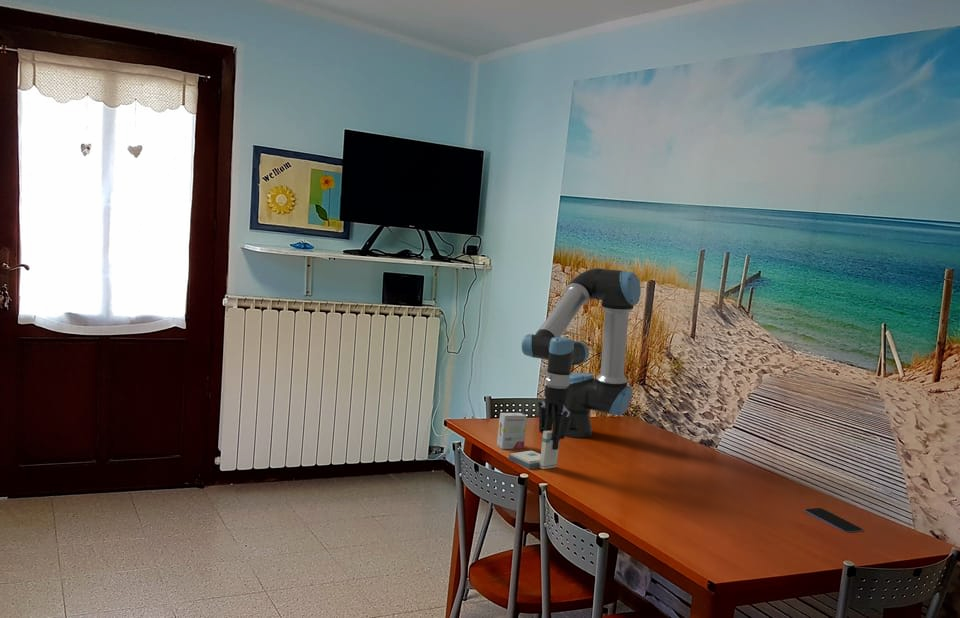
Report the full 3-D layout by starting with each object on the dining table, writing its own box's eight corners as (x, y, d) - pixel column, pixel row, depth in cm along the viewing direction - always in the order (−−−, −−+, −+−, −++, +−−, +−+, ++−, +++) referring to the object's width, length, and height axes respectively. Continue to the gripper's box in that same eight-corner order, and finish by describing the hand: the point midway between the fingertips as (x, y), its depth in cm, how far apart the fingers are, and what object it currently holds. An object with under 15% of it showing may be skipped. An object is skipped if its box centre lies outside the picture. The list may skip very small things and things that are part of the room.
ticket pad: (531, 456, 238) (531, 449, 237) (551, 465, 230) (552, 458, 230) (508, 459, 231) (509, 453, 231) (529, 469, 224) (529, 462, 223)
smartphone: (846, 531, 196) (803, 509, 209) (845, 535, 196) (802, 512, 209) (864, 529, 199) (820, 507, 212) (864, 533, 199) (820, 511, 212)
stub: (552, 465, 229) (556, 429, 228) (556, 467, 228) (560, 431, 227) (539, 467, 226) (543, 431, 225) (543, 469, 224) (547, 432, 223)
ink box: (518, 444, 250) (521, 412, 249) (524, 448, 245) (527, 415, 244) (496, 445, 247) (499, 412, 246) (501, 449, 242) (505, 415, 241)
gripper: (532, 381, 228) (525, 452, 230) (565, 392, 216) (556, 466, 218) (549, 380, 232) (541, 449, 235) (582, 390, 221) (573, 463, 223)
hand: (549, 457), depth 227 cm, fingers closed on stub, 2 cm apart
